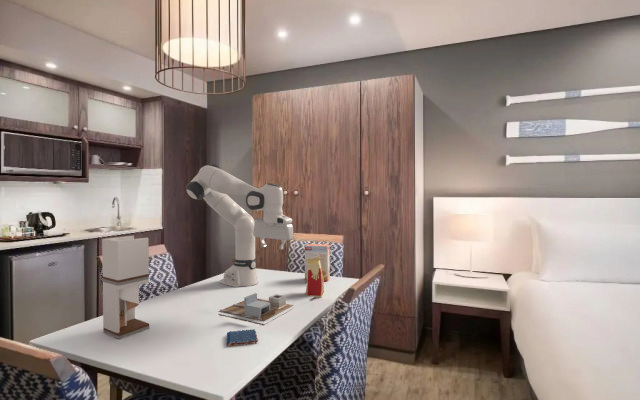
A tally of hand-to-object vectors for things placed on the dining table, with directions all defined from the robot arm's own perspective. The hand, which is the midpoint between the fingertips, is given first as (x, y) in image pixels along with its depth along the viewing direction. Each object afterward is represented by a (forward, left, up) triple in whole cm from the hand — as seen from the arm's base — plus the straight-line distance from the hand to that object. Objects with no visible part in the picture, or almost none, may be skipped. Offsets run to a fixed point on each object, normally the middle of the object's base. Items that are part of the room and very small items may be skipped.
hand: (272, 248), depth 162 cm
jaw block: (+6, -4, -25) cm, 26 cm away
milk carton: (+10, +23, -27) cm, 36 cm away
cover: (+5, -17, -24) cm, 30 cm away
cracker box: (-3, +50, -27) cm, 56 cm away
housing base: (0, -11, -26) cm, 29 cm away
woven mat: (+13, -36, -27) cm, 47 cm away
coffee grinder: (-30, -51, -27) cm, 65 cm away
